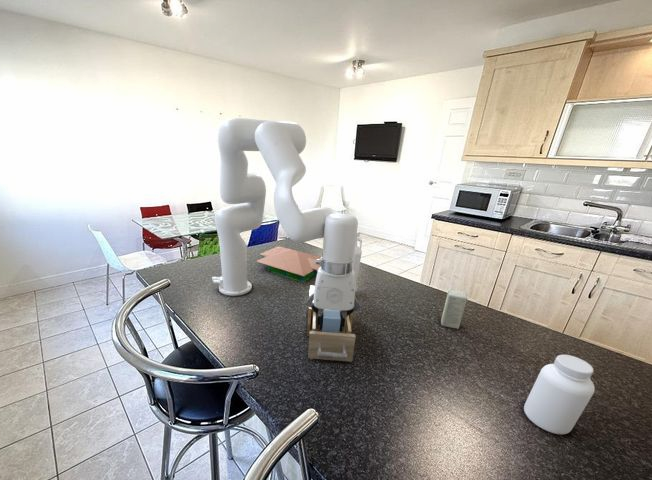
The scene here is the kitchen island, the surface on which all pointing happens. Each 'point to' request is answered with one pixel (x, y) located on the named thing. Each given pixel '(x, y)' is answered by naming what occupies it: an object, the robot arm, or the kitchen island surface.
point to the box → (453, 309)
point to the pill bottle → (560, 394)
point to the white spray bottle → (357, 257)
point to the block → (331, 321)
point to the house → (290, 261)
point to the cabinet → (310, 314)
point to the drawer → (331, 342)
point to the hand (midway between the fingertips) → (330, 326)
